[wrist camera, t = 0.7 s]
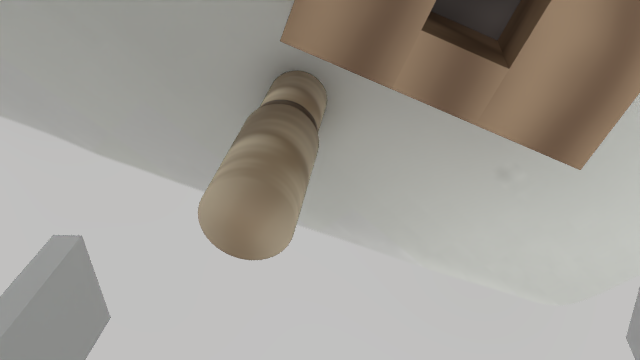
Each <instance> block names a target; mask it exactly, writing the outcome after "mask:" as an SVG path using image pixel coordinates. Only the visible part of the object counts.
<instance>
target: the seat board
mask: <svg viewBox="0 0 640 360" xmlns="http://www.w3.org/2000/svg"><path fill="white" fill-rule="evenodd" d="M280 41H281V42H283V43H285V44H288V45H290V46H292V47H295V48H297V49H299V50H302V51H304V52H306V53H309V54H311V55H313V56H316V57H318V58H320V59H323V60H325V61H327V62H330V63H332V64H334V65H337V66H339V67H341V68H344V69H346V70H348V71H351V72H353V73H355V74H358V75H360V76H362V77H365V78H367V79H369V80H372V81H374V82H376V83H379V84H381V85H383V86H386V87H388V88H390V89H393V90H395V91H397V92H400V93H402V94H404V95H407V96H409V97H411V98H414V99H416V100H418V101H421V102H423V103H425V104H428V105H430V106H432V107H435V108H437V109H439V110H442V111H444V112H446V113H448V114H451V115H453V116H455V117H458V118H460V119H462V120H465V121H467V122H469V123H472V124H474V125H476V126H479V127H481V128H483V129H486V130H488V131H490V132H493V133H495V134H497V135H500V136H502V137H504V138H507V139H509V140H511V141H514V142H516V143H518V144H521V145H523V146H525V147H528V148H530V149H532V150H535V151H537V152H539V153H542V154H544V155H546V156H549V157H551V158H553V159H556V160H558V161H560V162H563V163H565V164H567V165H570V166H572V167H574V168H577V169H579V170H581V169H582V167H583V166H584V165H585V163H586V162H587V161H588V160H589V158H590V157H591V156H592V154H593V153H594V152H595V150H596V149H597V148H598V146H599V145H600V144H601V143H602V141H603V140H604V139H605V137H606V136H607V135H608V133H609V132H610V131H611V129H612V128H613V127H614V126H615V124H616V123H617V122H618V120H619V119H620V118H621V116H622V115H623V114H624V112H625V111H626V110H627V109H628V107H629V106H630V105H631V103H632V102H633V101H634V99H635V98H636V97H637V95H638V94H639V93H640V0H295V1H294V4H293V7H292V9H291V12H290V15H289V18H288V20H287V23H286V26H285V28H284V31H283V34H282V37H281V39H280Z"/></svg>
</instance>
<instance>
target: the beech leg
mask: <svg viewBox="0 0 640 360" xmlns="http://www.w3.org/2000/svg"><path fill="white" fill-rule="evenodd" d="M326 105H327V95H326V91H325V89H324V87H323V85H322V84H321V82H320V81H319V80H318V79H317V78H315V77H314V76H313V75H311V74H309V73H306V72H303V71H289V72H286V73H284V74H282V75H280V76H279V77H278V78H277V79H276V80H275V81H274V82H273V84H272V86H271V87H270V89H269V91H268V93H267V95H266V97H265V98H264V100H263V102H262V104H261V106H260V107H259V108H258V109H257V110H255V111H254V112H253V113H252V114H251V115H250V116H249V117H248V118H247V120H246V122H245V123H244V125H243V127H242V128H241V130H240V132H239V134H238V135H237V137H236V139H235V141H234V142H233V144H232V146H231V148H230V149H229V151H228V153H227V155H226V156H225V158H224V160H223V162H222V163H221V165H220V167H219V169H218V170H217V172H216V174H215V176H214V177H213V179H212V181H211V183H210V184H209V186H208V188H207V190H206V191H205V193H204V195H203V197H202V198H201V201H200V203H199V208H198V219H199V223H200V226H201V228H202V230H203V232H204V234H205V235H206V237H207V238H208V239H209V240H210V242H211V243H212V244H214V245H215V246H216V247H217V248H218V249H220V250H221V251H223V252H225V253H227V254H229V255H231V256H234V257H237V258H240V259H246V260H262V259H267V258H270V257H273V256H275V255H277V254H279V253H280V252H282V251H283V250H284V249H285V248H286V247H287V246H288V244H289V243H290V241H291V240H292V237H293V234H294V231H295V227H296V224H297V221H298V217H299V214H300V210H301V207H302V204H303V200H304V197H305V193H306V190H307V186H308V183H309V180H310V176H311V173H312V169H313V166H314V163H315V159H316V156H317V152H318V148H319V137H318V131H319V128H320V125H321V121H322V118H323V115H324V112H325V109H326Z"/></svg>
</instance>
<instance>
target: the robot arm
mask: <svg viewBox="0 0 640 360" xmlns="http://www.w3.org/2000/svg"><path fill="white" fill-rule="evenodd" d="M110 318H111V317H110V315H109V312H108V309H107V306H106V303H105V301H104V298H103V295H102V292H101V289H100V286H99V283H98V280H97V277H96V275H95V272H94V269H93V266H92V264H91V260H90V258H89V255H88V252H87V249H86V246H85V243H84V240H83V238H82V236H68V235H53V236H52V237H51V239H50V240H49V241H48V242H47V243H46V244H45V245H44V247H43V248H42V249H41V250H40V251H39V252H38V254H37V255H36V256H35V257H34V258H33V259H32V260H31V262H30V263H29V264H28V265H27V266H26V267H25V268H24V270H23V271H22V272H21V273H20V274H19V275H18V277H17V278H16V279H15V280H14V281H13V282H12V283H11V285H10V286H9V287H8V288H7V289H6V290H5V292H4V293H3V294H2V295H1V296H0V360H85V359H86V358H87V356H88V354H89V353H90V351H91V349H92V348H93V346H94V344H95V343H96V341H97V339H98V338H99V336H100V334H101V333H102V331H103V329H104V327H105V326H106V325H107V323H108V321H109V320H110ZM626 339H627V341H628V343H629V346H630V348H631V350H632V353H633V355H634V357H635V360H640V288H639V292H638V296H637V299H636V303H635V307H634V310H633V314H632V318H631V321H630V325H629V329H628V332H627V336H626Z"/></svg>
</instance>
